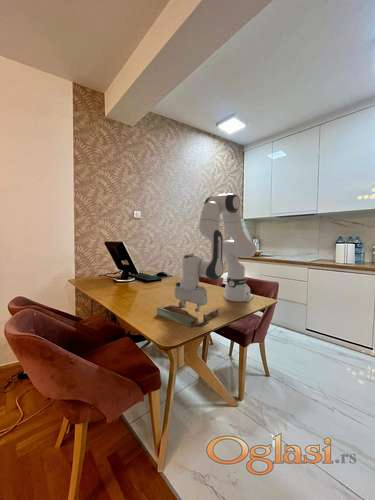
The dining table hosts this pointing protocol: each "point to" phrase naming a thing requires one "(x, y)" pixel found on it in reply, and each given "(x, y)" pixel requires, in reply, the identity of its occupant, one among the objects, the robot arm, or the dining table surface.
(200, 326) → the mats
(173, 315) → the trap lane
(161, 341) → the dining table surface
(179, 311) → the brown oblong lump
